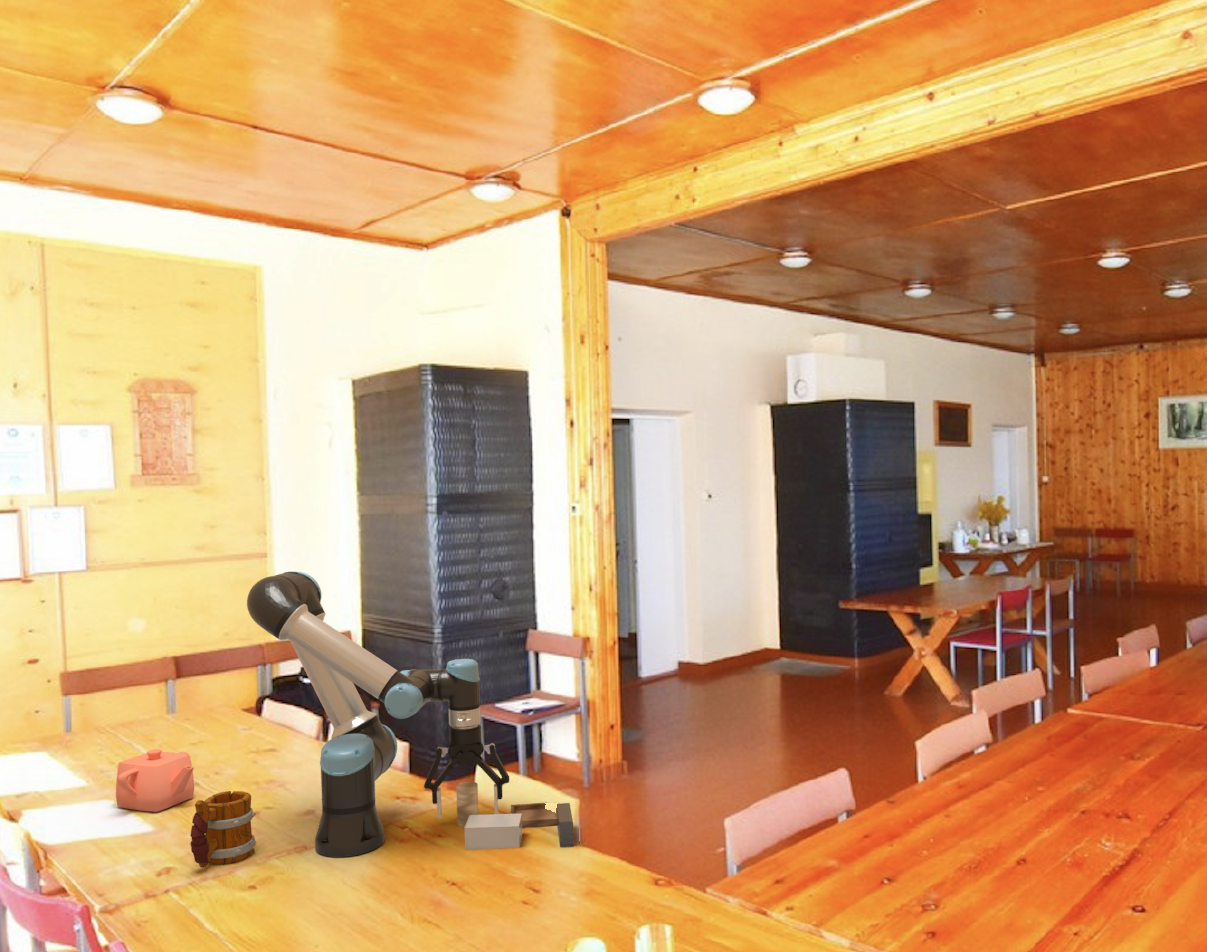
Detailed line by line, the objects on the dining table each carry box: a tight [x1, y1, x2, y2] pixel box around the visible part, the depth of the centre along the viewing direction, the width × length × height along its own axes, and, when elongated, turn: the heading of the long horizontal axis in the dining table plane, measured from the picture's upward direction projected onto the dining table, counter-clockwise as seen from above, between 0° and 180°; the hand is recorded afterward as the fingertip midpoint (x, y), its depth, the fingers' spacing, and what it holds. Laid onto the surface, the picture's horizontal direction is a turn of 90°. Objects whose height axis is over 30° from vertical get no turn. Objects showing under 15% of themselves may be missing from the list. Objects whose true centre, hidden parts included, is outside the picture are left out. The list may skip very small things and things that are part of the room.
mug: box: [190, 790, 257, 868], centre depth 206 cm, size 11×16×15 cm, turn 161°
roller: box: [455, 781, 479, 828], centre depth 224 cm, size 5×5×9 cm
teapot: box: [115, 748, 195, 813], centre depth 244 cm, size 20×22×14 cm
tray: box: [510, 802, 557, 829], centre depth 225 cm, size 12×12×2 cm
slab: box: [464, 813, 523, 850], centre depth 211 cm, size 12×8×5 cm, turn 90°
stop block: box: [557, 802, 575, 848], centre depth 213 cm, size 3×12×6 cm, turn 6°
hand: (468, 815), depth 223 cm, fingers open, 13 cm apart
